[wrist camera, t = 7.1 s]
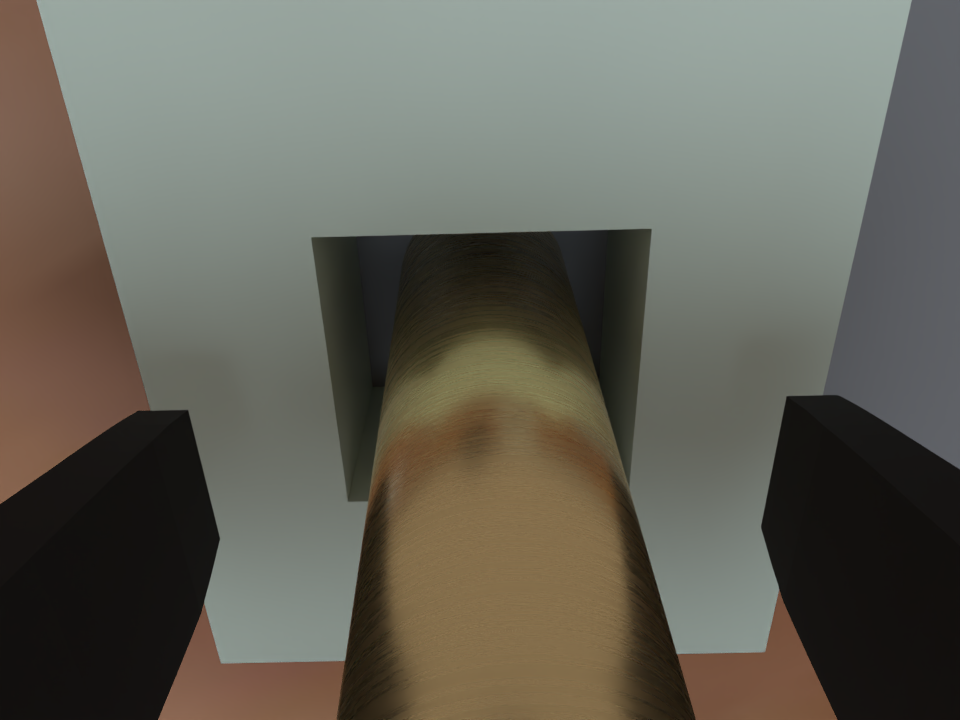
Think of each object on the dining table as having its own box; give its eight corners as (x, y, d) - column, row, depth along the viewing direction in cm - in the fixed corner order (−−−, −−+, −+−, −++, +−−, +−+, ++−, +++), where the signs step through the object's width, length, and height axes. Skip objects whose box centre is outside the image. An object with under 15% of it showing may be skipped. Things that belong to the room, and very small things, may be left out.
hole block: (715, 522, 18) (764, 652, 15) (264, 532, 18) (221, 662, 15) (815, -105, 12) (935, -108, 9) (134, -86, 12) (14, -81, 9)
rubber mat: (1077, 564, 19) (1091, 579, 18) (241, 582, 19) (236, 598, 19) (1440, -203, 11) (1479, -208, 11) (62, -162, 12) (46, -164, 11)
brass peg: (562, 346, 15) (697, 930, 7) (407, 351, 15) (344, 944, 7) (567, 196, 14) (749, 706, 5) (395, 202, 14) (291, 725, 5)
